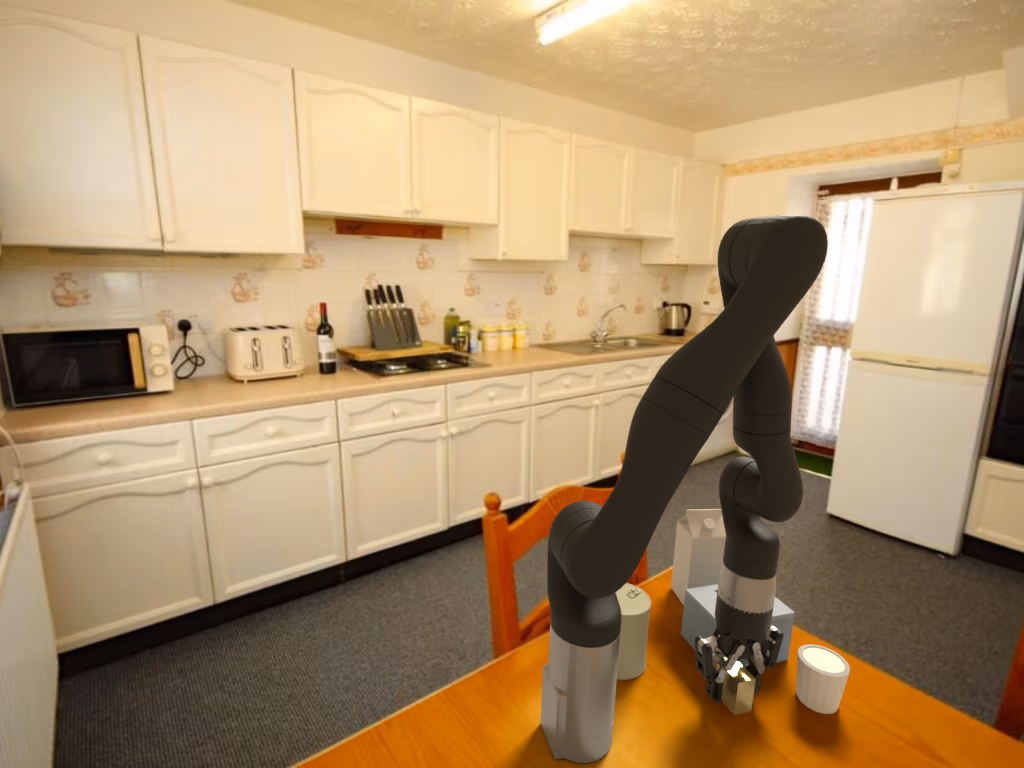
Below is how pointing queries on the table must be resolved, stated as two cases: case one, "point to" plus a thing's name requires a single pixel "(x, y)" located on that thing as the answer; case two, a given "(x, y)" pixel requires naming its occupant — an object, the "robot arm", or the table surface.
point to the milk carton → (698, 550)
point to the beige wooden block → (738, 689)
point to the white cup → (820, 678)
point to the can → (633, 631)
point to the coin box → (703, 619)
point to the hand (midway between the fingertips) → (732, 694)
